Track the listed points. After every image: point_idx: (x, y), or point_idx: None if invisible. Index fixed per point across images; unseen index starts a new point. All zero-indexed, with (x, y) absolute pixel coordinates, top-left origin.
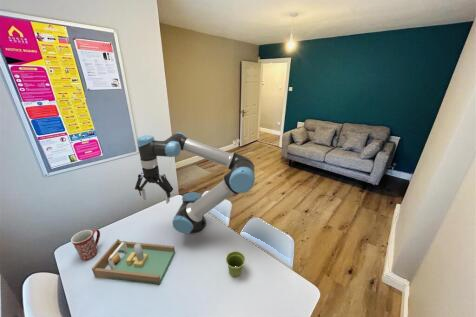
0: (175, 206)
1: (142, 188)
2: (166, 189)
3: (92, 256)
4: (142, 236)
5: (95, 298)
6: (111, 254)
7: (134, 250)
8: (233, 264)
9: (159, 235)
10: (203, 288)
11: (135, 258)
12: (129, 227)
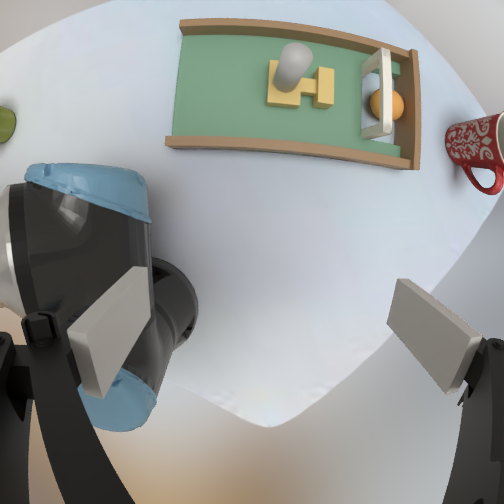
0: (271, 394)
1: (468, 388)
2: (35, 380)
3: (449, 131)
4: (344, 225)
5: (352, 7)
6: (401, 105)
7: (337, 138)
8: (4, 139)
9: (276, 234)
10: (67, 58)
11: (306, 85)
12: (407, 269)
